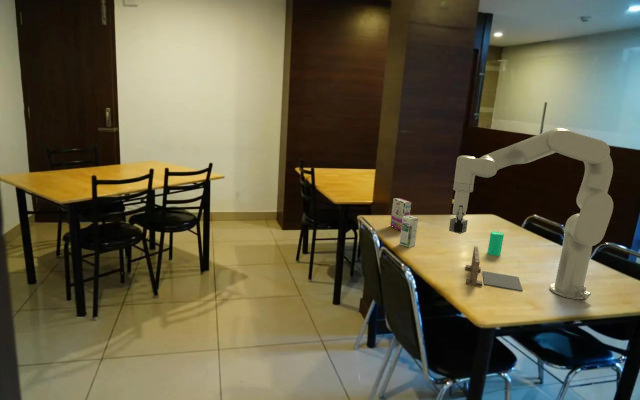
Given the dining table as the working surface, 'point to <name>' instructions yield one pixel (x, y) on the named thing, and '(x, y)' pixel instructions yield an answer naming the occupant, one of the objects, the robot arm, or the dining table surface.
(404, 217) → the syrup box
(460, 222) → the robot arm
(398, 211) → the candy bar box
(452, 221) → the dice cube
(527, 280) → the dining table surface
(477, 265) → the walnut screen
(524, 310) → the dining table surface
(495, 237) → the candle
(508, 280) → the grey mat
